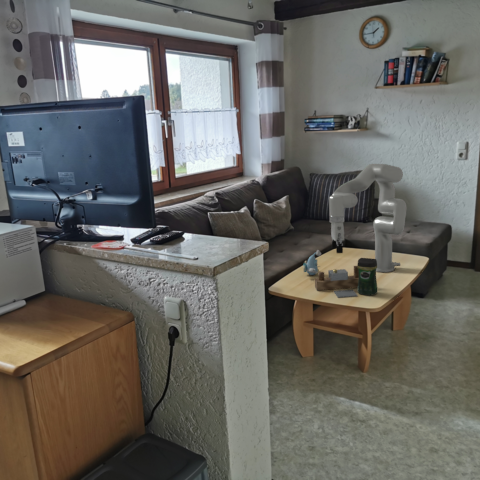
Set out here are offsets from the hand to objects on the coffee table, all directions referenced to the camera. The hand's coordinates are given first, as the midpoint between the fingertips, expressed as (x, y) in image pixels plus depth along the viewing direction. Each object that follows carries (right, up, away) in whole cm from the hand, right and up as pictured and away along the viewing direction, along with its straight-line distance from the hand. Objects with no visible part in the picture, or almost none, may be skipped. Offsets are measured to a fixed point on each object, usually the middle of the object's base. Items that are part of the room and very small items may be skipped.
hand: (337, 250), depth 257 cm
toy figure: (-9, -15, +29) cm, 33 cm away
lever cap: (+1, -15, +3) cm, 15 cm away
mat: (+3, -22, -6) cm, 23 cm away
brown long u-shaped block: (+2, -20, +5) cm, 20 cm away
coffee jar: (+14, -22, -7) cm, 27 cm away
